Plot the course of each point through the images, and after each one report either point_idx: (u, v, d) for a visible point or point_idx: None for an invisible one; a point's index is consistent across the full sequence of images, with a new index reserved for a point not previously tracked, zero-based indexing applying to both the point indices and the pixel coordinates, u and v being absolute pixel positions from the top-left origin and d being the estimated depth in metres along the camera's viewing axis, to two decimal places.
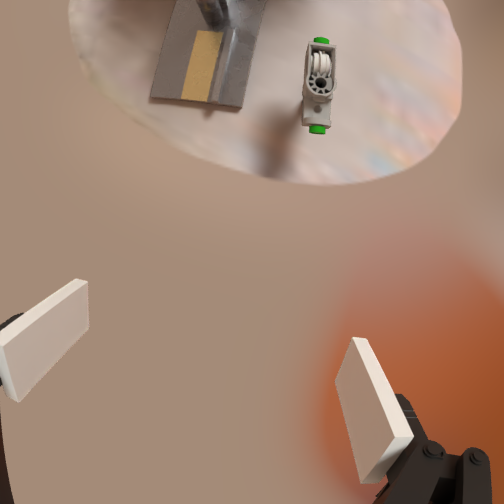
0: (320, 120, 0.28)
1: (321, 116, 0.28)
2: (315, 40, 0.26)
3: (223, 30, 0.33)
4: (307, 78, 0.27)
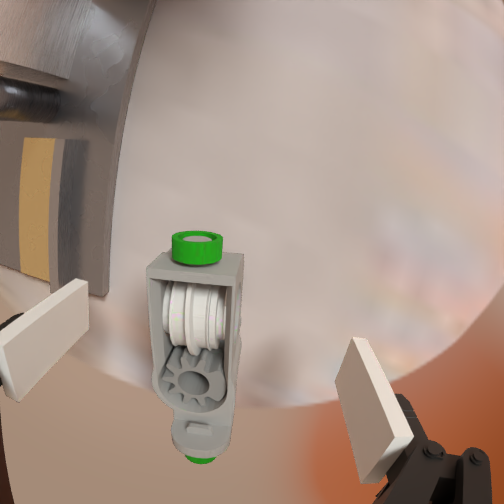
0: (198, 453, 0.11)
1: (206, 431, 0.12)
2: (173, 248, 0.09)
3: (60, 133, 0.16)
4: (154, 378, 0.10)
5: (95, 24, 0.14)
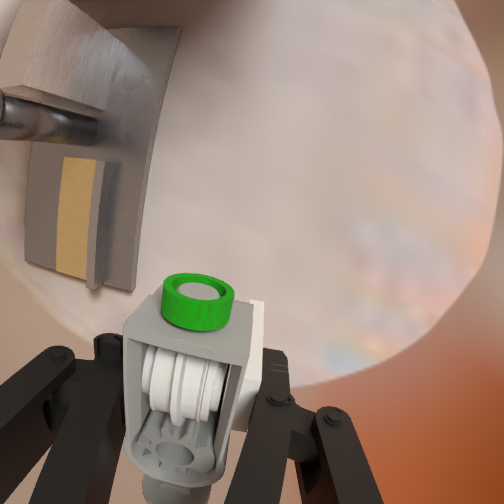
0: None
1: (183, 490, 0.09)
2: (163, 300, 0.07)
3: (97, 155, 0.22)
4: (126, 444, 0.07)
5: (126, 65, 0.20)
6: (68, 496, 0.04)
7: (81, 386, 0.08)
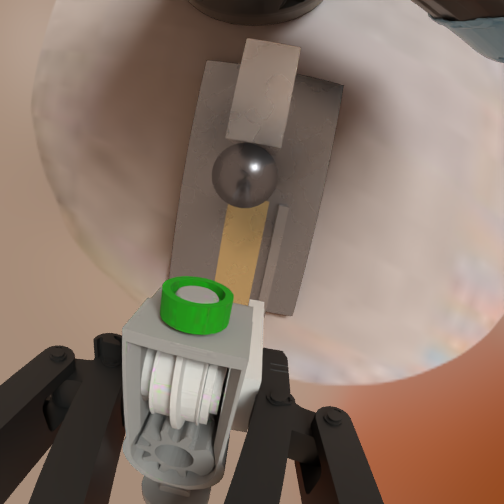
0: None
1: (182, 492, 0.09)
2: (162, 304, 0.06)
3: (269, 197, 0.27)
4: (126, 447, 0.07)
5: (296, 113, 0.25)
6: (68, 496, 0.04)
7: (81, 386, 0.08)
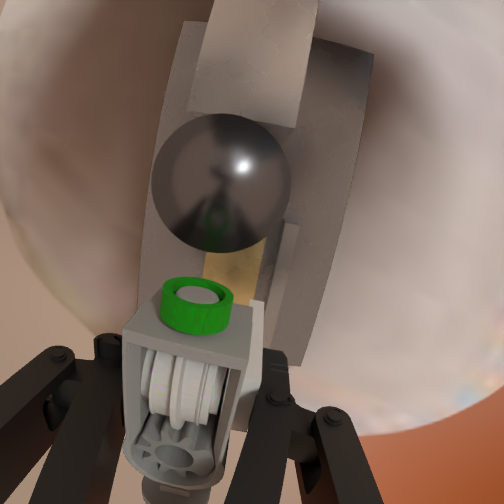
0: None
1: (182, 492, 0.09)
2: (162, 304, 0.06)
3: None
4: (126, 447, 0.07)
5: (309, 88, 0.17)
6: (68, 496, 0.04)
7: (81, 386, 0.08)
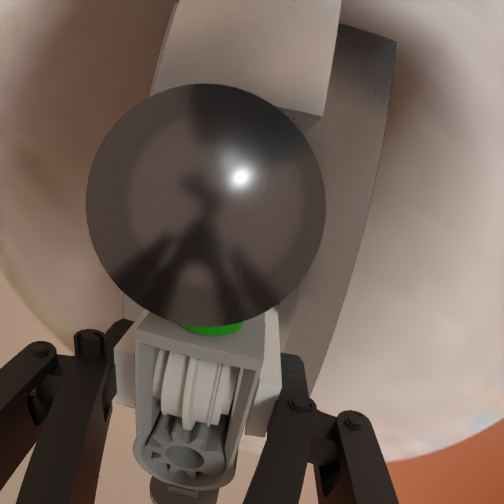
0: None
1: (191, 493, 0.09)
2: None
3: None
4: (136, 448, 0.07)
5: None
6: (54, 491, 0.04)
7: (63, 382, 0.08)
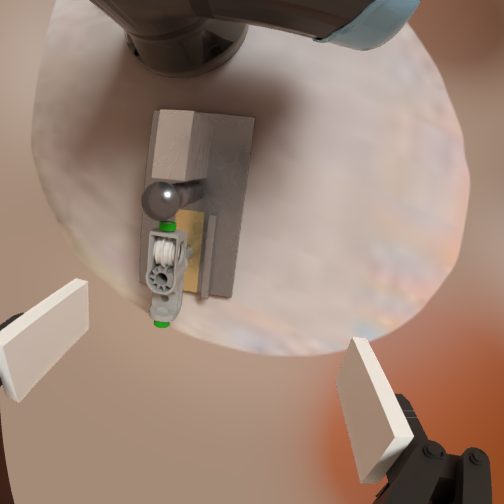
0: (160, 318, 0.29)
1: (165, 309, 0.30)
2: (159, 225, 0.27)
3: (204, 209, 0.36)
4: (146, 275, 0.28)
5: (219, 144, 0.34)
6: None
7: None
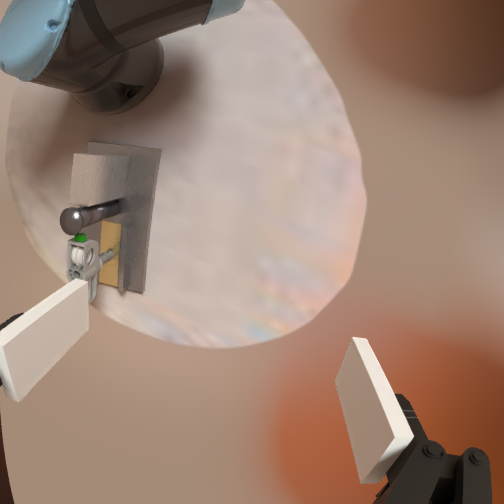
0: None
1: None
2: None
3: (121, 221, 0.44)
4: (67, 271, 0.35)
5: (132, 171, 0.42)
6: None
7: None
